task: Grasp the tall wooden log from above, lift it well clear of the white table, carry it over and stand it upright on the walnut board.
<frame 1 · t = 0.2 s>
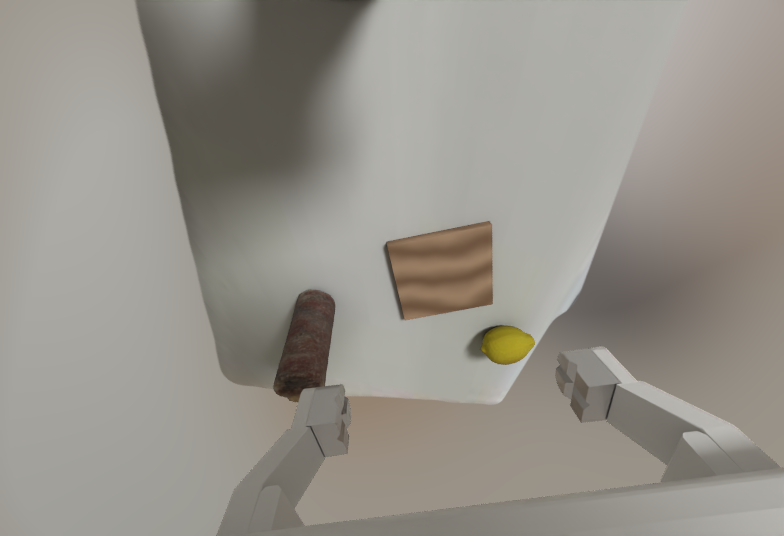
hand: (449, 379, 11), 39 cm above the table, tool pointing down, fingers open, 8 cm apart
lemon: (499, 330, 67), on the table
wooden log: (317, 300, 59), on the table
walnut board: (442, 272, 57), on the table
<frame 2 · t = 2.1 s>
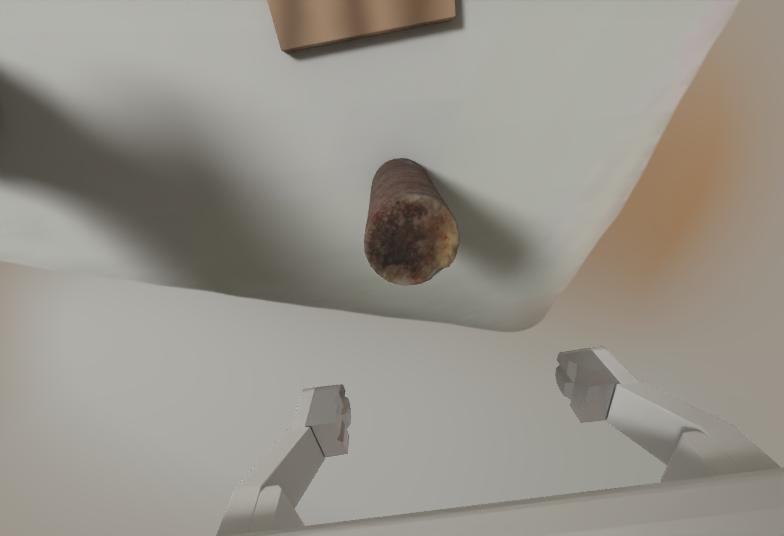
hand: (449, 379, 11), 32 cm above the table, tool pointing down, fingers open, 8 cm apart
wooden log: (399, 184, 40), on the table
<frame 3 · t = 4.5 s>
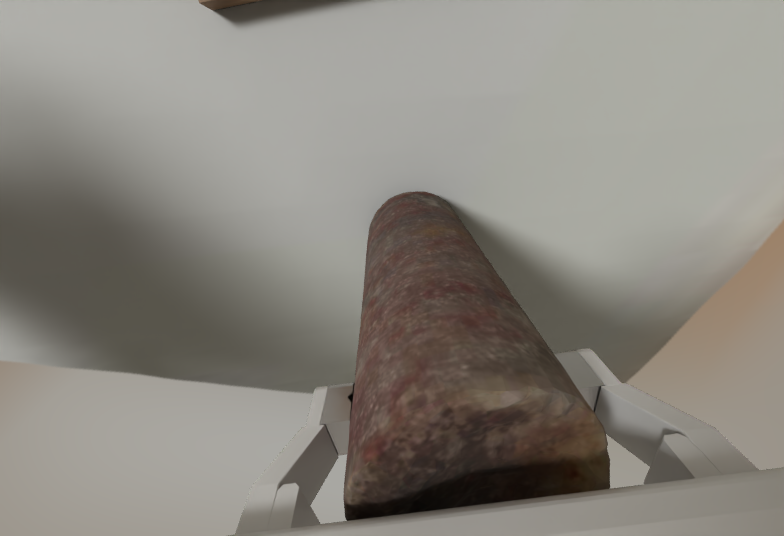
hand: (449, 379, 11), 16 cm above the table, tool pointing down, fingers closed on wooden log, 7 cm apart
wooden log: (411, 229, 25), on the table, touching gripper
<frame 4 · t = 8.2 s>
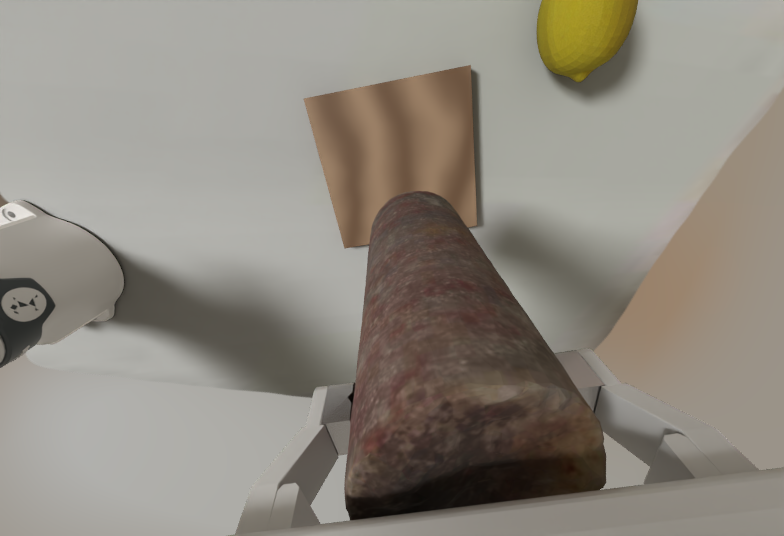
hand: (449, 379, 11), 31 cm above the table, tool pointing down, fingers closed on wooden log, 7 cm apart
lemon: (561, 25, 31), on the table
wooden log: (413, 228, 25), point 15 cm above the table, touching gripper
walnut board: (398, 166, 37), on the table
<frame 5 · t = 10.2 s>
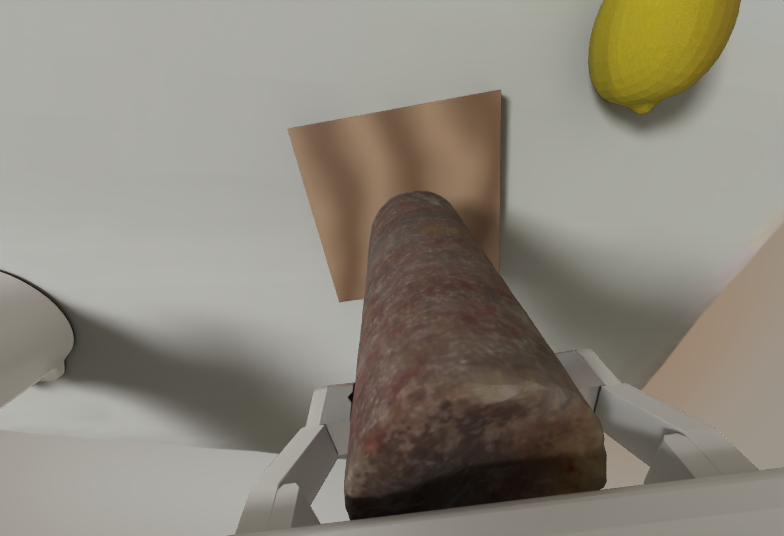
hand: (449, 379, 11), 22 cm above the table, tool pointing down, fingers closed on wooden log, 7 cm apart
lemon: (615, 40, 25), on the table
wooden log: (413, 228, 25), point 6 cm above the table, touching gripper
walnut board: (406, 208, 31), on the table
when the fingers open (18 cm above the table, at t = 11.9 s): wooden log drops 1 cm, resting on walnut board.
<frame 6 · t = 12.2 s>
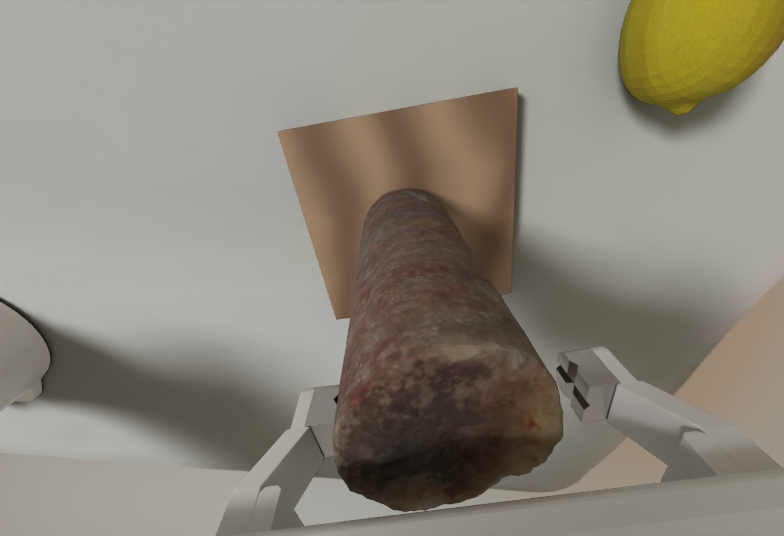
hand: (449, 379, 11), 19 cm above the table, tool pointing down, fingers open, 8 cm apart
lemon: (647, 31, 22), on the table
wooden log: (404, 224, 27), point 1 cm above the table, touching gripper, walnut board
walnut board: (409, 218, 28), on the table
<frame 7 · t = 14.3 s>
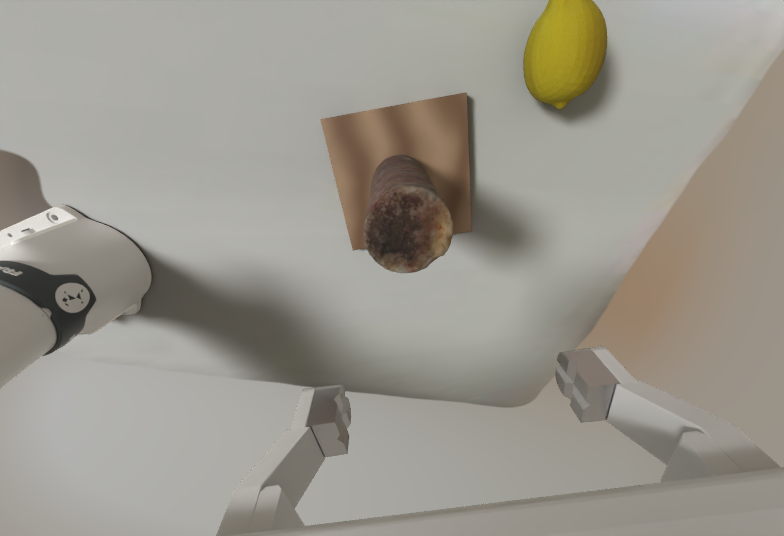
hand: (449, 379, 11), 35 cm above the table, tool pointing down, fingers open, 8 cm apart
lemon: (545, 58, 36), on the table
wooden log: (398, 180, 41), point 1 cm above the table, touching walnut board
walnut board: (402, 178, 42), on the table
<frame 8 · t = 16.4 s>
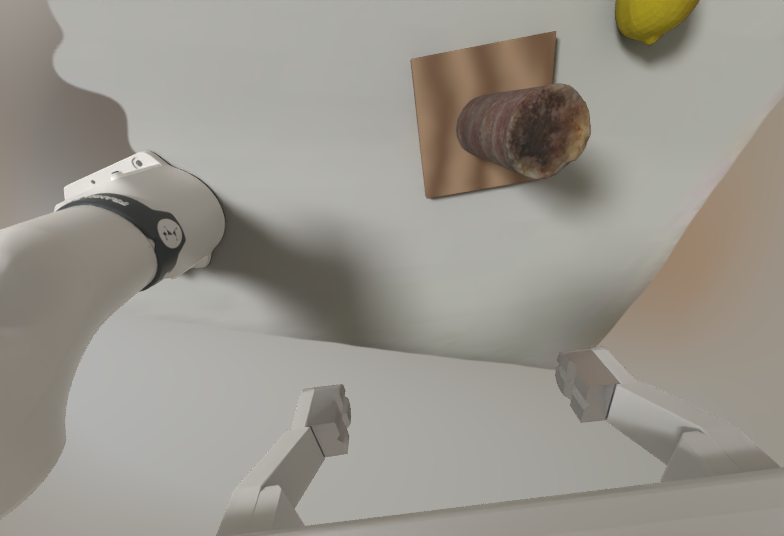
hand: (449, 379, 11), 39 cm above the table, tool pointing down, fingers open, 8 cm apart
wooden log: (479, 124, 42), point 1 cm above the table, touching walnut board
walnut board: (481, 123, 43), on the table
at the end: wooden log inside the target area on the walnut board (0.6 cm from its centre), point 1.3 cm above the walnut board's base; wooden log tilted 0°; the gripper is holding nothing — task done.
